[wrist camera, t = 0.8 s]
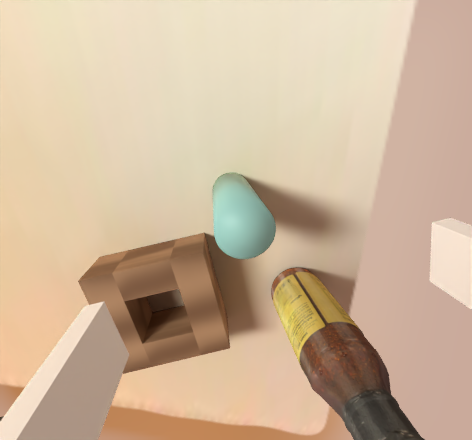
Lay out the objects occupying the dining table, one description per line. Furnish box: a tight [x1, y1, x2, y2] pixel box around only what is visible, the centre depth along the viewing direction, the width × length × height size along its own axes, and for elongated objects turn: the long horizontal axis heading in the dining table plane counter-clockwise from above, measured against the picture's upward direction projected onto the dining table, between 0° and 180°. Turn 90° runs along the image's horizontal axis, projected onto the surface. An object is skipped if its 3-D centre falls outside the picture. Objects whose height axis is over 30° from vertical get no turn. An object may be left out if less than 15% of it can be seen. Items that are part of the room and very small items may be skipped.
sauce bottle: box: [271, 268, 424, 440], centre depth 23 cm, size 7×6×20 cm
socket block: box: [78, 233, 230, 374], centre depth 29 cm, size 12×12×5 cm
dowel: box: [213, 173, 276, 259], centre depth 22 cm, size 4×4×12 cm
